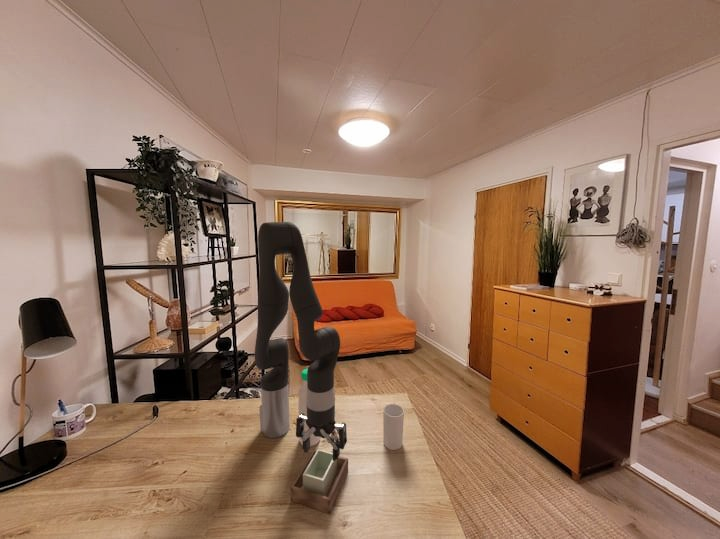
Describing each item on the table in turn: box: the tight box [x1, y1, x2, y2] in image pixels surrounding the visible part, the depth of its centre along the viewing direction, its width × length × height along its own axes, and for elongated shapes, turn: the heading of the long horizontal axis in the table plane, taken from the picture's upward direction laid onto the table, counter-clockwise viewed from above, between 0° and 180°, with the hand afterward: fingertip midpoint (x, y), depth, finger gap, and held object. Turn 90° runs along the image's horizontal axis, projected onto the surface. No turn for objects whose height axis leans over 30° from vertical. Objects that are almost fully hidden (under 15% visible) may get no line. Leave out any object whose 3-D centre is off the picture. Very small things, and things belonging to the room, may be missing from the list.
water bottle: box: [297, 368, 321, 448], centre depth 90 cm, size 7×7×25 cm
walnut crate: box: [290, 449, 349, 515], centre depth 75 cm, size 11×13×4 cm
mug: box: [382, 402, 405, 451], centre depth 91 cm, size 10×7×12 cm, turn 171°
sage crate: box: [303, 448, 337, 496], centre depth 75 cm, size 6×9×6 cm, turn 162°
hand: (321, 454), depth 75 cm, fingers open, 8 cm apart
